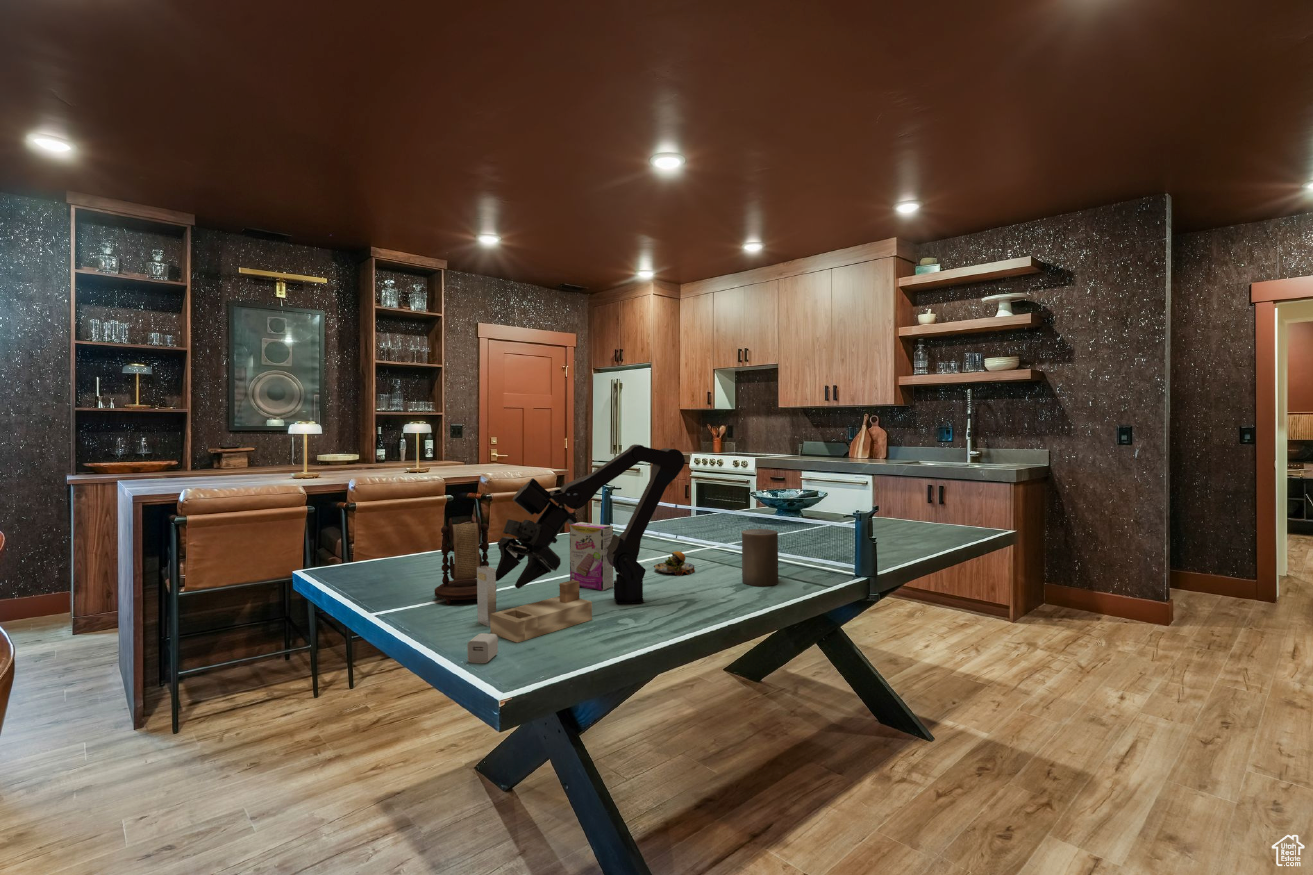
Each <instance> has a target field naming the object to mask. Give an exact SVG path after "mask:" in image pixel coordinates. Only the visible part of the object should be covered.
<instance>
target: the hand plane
mask: <svg viewBox="0 0 1313 875" xmlns="http://www.w3.org/2000/svg"><path fill="white" fill-rule="evenodd" d="M592 620H593V602H592V600H591V601H590V600H587V599H582V598H581V597H580V587H579V581H575V580H571V581H570V580H567V581H563V582H560V583H559V596H554V597H551V598H548V599H544V600H542V599H541V600H539V601H535V602H531V603H527V604H523V605H520V606H516V607H512V608H507V609H503V610H500V611H496V613H492V614H490V624H491V626H490V634H496V635H497V637H500V638H503V639H506V640H509V641H511V642H513V643H514V642H515V643H517V644H518V643H521V642H524V641H528V640H530V639H534V638H537V637H541V636H543V635H546V634H550V633H553V632H556V631H560V630H563V629H566V628H570V627H573V626H575V625H579V624H583V623H585V622H588V621H592Z"/></svg>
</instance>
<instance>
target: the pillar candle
mask: <svg viewBox="0 0 1313 875" xmlns="http://www.w3.org/2000/svg"><path fill="white" fill-rule="evenodd" d="M741 572H742V574H741V575H742V576H741V577H742V579H741V580H742V581H741V582H742V583H743V584H745V585H748V586H755V587H770V586H776V585H778V584H779V533H778V531H777V530H774V529H770V528H769V529H767V528H761V526H759V528H752V529H745V530H742V531H741Z"/></svg>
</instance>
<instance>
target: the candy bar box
mask: <svg viewBox="0 0 1313 875" xmlns="http://www.w3.org/2000/svg"><path fill="white" fill-rule="evenodd" d="M613 535H614V526H613V525H608V524H602V523H601V524H599V523H591V522H584V521H581V522H577V523H576V524H571V525H570V524H569V581H571V580H575V581H579V588H585V589H591V590H596V591H602V592H603V591H607V590H609V589H611V588H614V567H613V566H612V565H610V563H609V562H608V560H607V552H608V550H607V549H606V548H607V547H608V546H609V544H610V543H611V540H612V537H613Z"/></svg>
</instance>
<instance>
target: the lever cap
mask: <svg viewBox="0 0 1313 875" xmlns="http://www.w3.org/2000/svg"><path fill="white" fill-rule="evenodd" d="M496 570H497V568H495V567H494V568H493V567H491V566H481V567H477V598H476V599H477V600H476V601H477V623H479V624H482V625H484V626H486V627H491V624H490V614H492V613H496V612H497V590H496V589H497V581H496Z"/></svg>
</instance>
